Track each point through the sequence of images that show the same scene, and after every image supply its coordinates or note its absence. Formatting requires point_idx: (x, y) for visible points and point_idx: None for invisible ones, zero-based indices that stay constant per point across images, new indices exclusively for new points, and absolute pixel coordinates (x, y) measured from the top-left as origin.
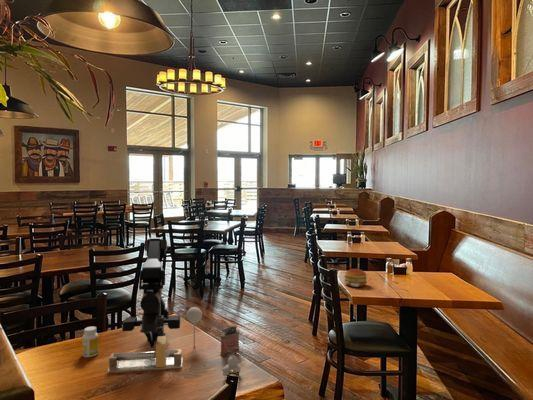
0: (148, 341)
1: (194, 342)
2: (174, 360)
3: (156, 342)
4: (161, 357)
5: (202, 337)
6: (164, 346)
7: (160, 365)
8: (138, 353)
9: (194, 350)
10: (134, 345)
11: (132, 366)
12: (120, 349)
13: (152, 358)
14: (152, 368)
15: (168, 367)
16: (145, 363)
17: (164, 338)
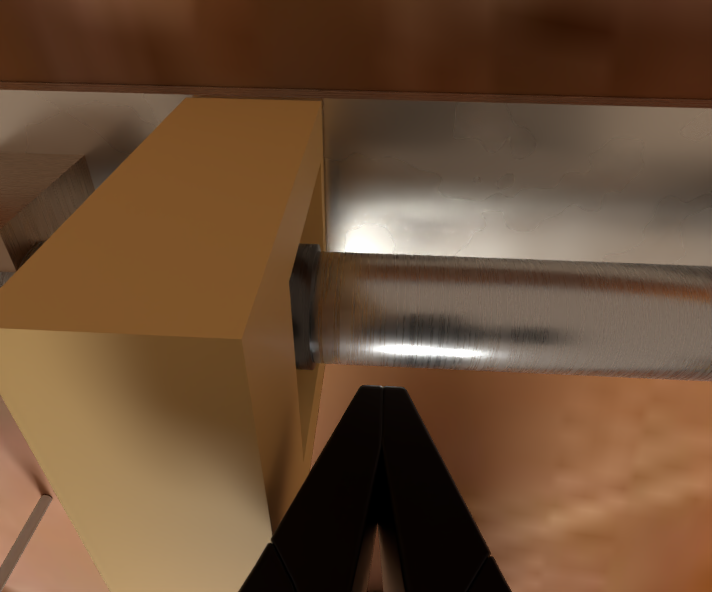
0: (467, 507)
1: (25, 526)
2: (45, 180)
3: (254, 446)
4: (194, 158)
5: (37, 580)
6: (21, 284)
7: (248, 106)
8: (619, 332)
9: (10, 437)
10: (556, 572)
11: (652, 201)
12: (682, 544)
13: (379, 255)
14: (373, 96)
15: (141, 91)
16: (473, 253)
17: (127, 561)
